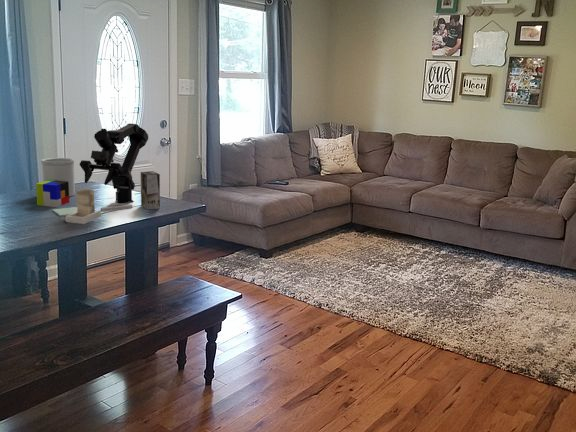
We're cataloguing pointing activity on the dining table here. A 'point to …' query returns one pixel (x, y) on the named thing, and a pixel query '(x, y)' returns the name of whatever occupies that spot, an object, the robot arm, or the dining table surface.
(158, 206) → the coffee box
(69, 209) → the mat
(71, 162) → the utensil holder
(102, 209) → the rod
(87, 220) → the channel
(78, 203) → the block
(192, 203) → the dining table surface
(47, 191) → the puzzle toy
